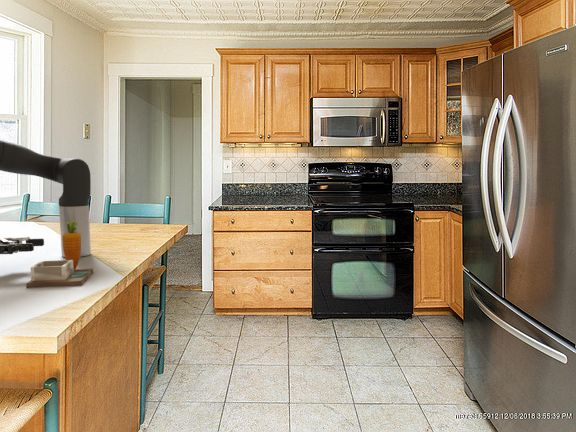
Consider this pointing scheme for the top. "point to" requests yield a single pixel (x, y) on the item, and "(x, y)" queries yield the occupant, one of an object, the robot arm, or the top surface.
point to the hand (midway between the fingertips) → (38, 244)
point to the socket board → (57, 274)
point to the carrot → (72, 244)
